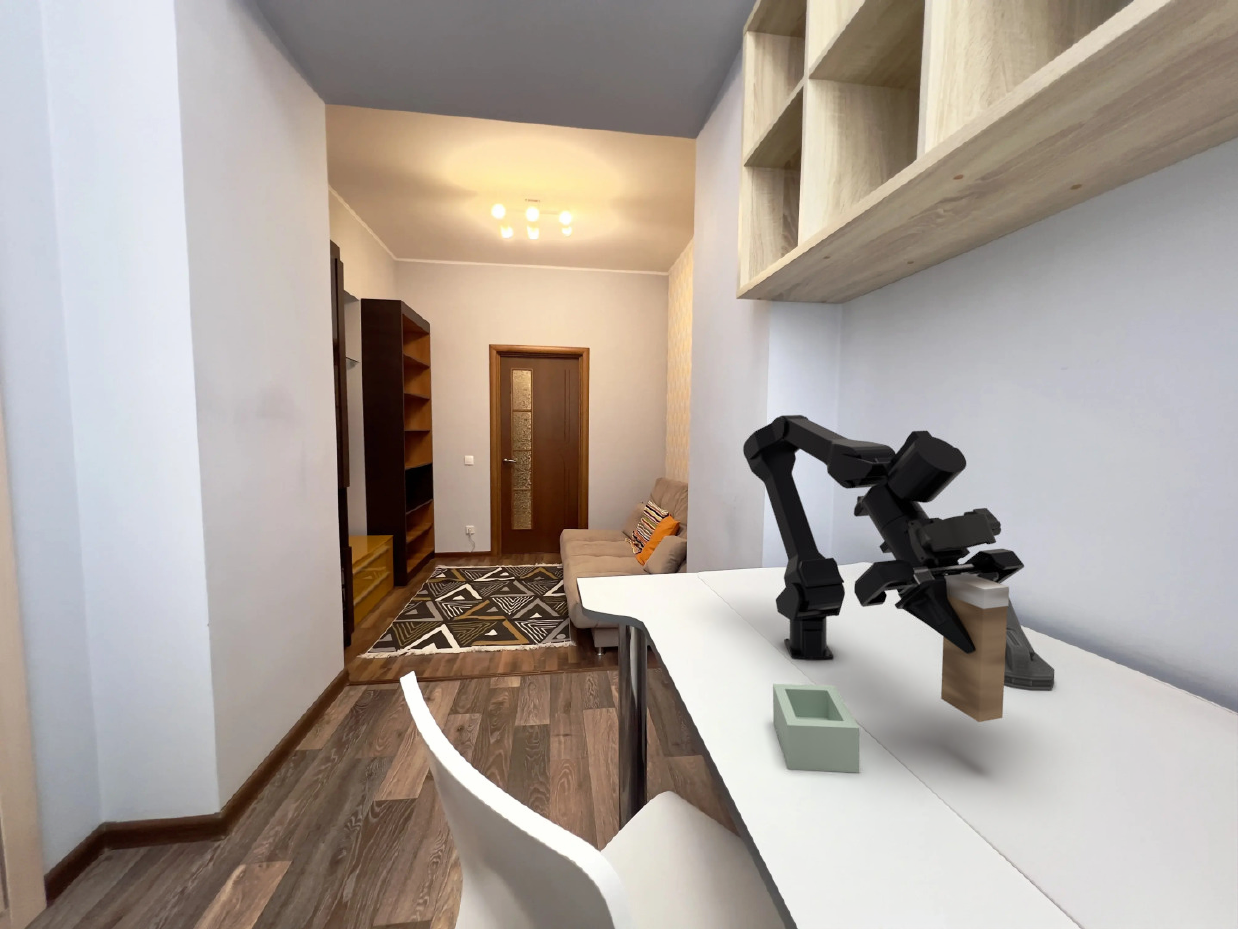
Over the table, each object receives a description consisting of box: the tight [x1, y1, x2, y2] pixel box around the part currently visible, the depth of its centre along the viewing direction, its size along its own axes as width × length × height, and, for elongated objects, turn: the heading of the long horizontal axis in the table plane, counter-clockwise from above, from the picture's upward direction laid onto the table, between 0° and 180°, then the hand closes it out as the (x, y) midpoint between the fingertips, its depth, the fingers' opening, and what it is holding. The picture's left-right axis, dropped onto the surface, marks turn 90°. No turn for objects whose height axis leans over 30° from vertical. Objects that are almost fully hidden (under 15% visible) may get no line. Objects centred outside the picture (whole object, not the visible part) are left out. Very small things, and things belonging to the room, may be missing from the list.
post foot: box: [772, 683, 860, 773], centre depth 59 cm, size 9×7×5 cm
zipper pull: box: [1004, 597, 1055, 692], centre depth 81 cm, size 9×7×25 cm
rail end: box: [940, 574, 1010, 723], centre depth 54 cm, size 5×3×14 cm, turn 13°
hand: (984, 650), depth 53 cm, fingers closed on rail end, 3 cm apart
